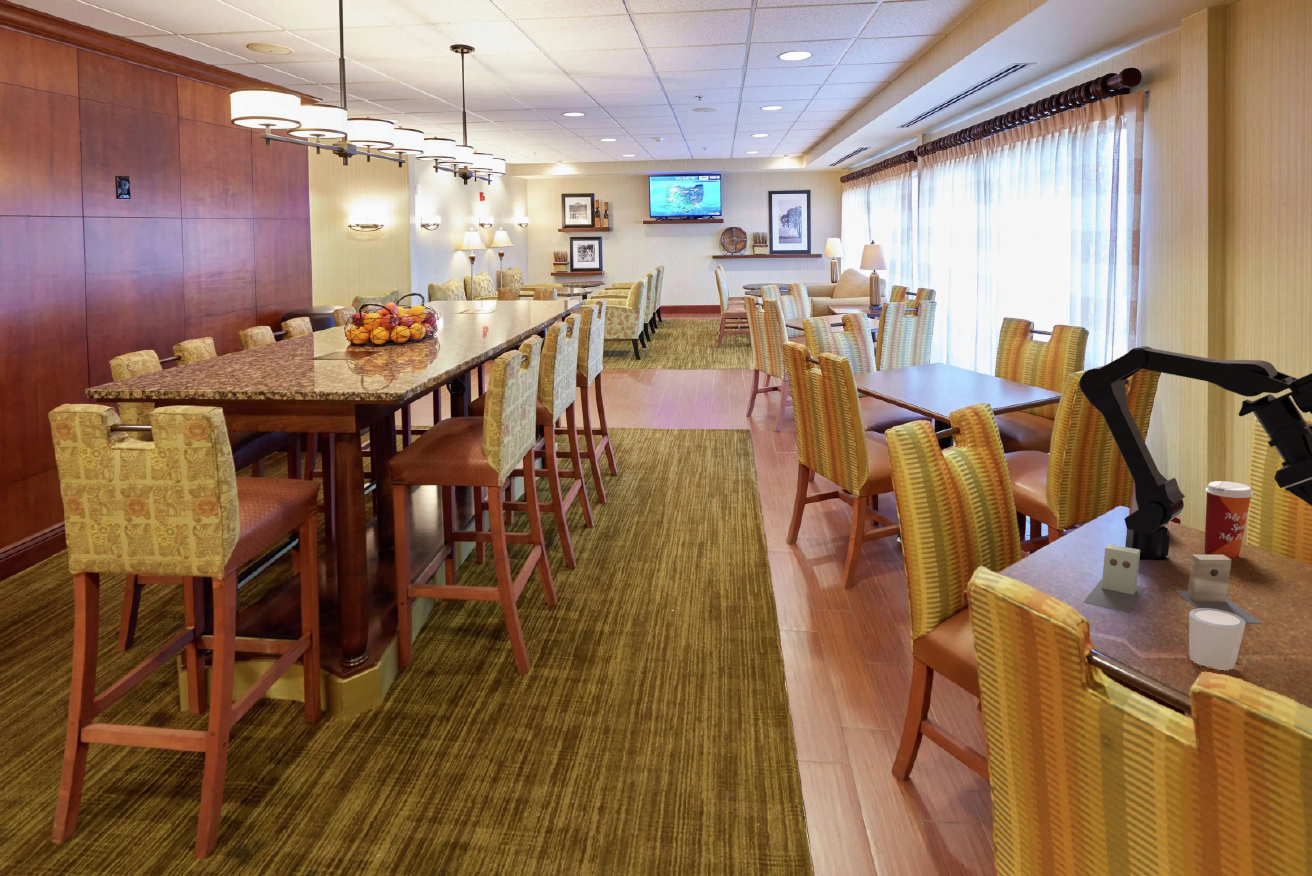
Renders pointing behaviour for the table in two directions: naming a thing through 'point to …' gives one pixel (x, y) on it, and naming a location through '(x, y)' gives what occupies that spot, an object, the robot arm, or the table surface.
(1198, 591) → the cream tile
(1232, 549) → the paper cup
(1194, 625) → the white cup
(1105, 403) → the robot arm
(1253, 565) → the table surface
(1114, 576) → the sage tile
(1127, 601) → the pair of gray tiles
